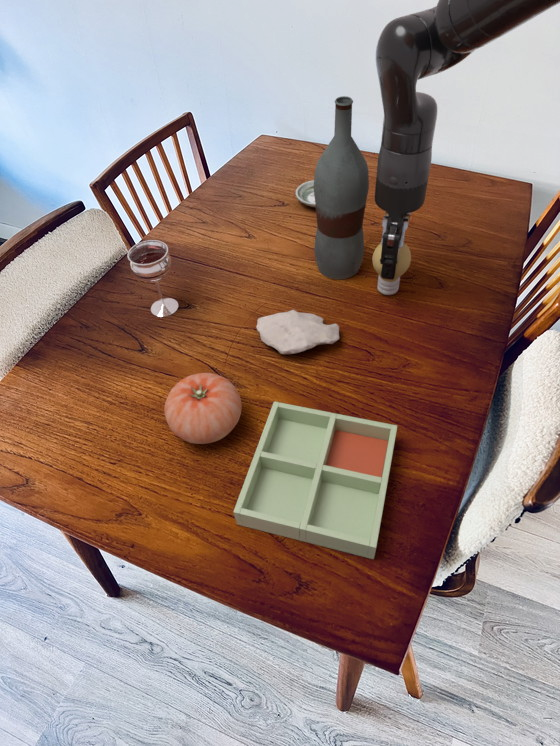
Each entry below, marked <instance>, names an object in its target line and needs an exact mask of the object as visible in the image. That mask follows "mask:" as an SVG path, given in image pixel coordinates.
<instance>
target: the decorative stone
mask: <svg viewBox="0 0 560 746" xmlns="http://www.w3.org/2000/svg"><path fill="white" fill-rule="evenodd" d="M255 329H256V330H257V332H258V333H259V336H260V341H261V342H263V343H264V345H267V346H269V347H271V348H274V349H275V350H277V352H278V353H280V355H293V354H294V355H295V354H299V353H301V352H305V351H307V350H311V349H314V348H315V347H316V346H322V345H333V344H334V343H336V342H337V341H338V340H340V326H339V325H338V324H337V323H332V324H326V323H324V318H323V317H321V316H319V315H316V314H315V313H310V312H299V311H297V310H295V309H291V310H289V311H284V312H276V313H274V314H269V315H264V316H262V317H261V316H260V317H258V318H257V323H256V326H255Z"/></svg>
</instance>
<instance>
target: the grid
mask: <svg viewBox="0 0 560 746" xmlns="http://www.w3.org/2000/svg"><path fill="white" fill-rule="evenodd" d="M397 430H398V425H397V424H391V423H386V422H381V421H376V420H370V419H366V418H361V417H356V416H351V415H347V414H340V413H336V412H330V411H326V410H321V409H315V408H310V407H304V406H301V405H300V406H299V405H295V404H290V403H285V402H279V401H273V403H272V405H271V408H270V411H269V413H268V416H267V419H266V422H265V424H264V428H263V430H262V433H261V436H260V438H259V441H258V443H257V446H256V448H255V452H254V453H253V454H254V455H253V457H252V460H251V463H250V465H249V467H248V471H247V474H246V476H245V479H244V481H243V485H242V487H241V490H240V491H239V492H240V493H239V495H238V497H237V500H236V504H235V506H234V509H233V511H232V512H233V516H234V519H235V523H236V525H238V526H241V527H246V528H249V529H253V530H258V531H261V532H265V533H269V534H271V535H272V534H273V535H277V536H280V537H285V538H288V539H292V540H295V541H300V542H304V543H308V544H311V545H316V546H319V547H324V548H328V549H331V550H335V551H339V552H343V553H346V554H351V555H354V556H359V557H362V558H366V559H369V560H375V556H376V551H377V547H378V542H379V541H378V540H379V534H380V528H381V523H382V517H383V511H384V505H385V501H386V494H387V488H388V483H389V478H390V477H389V476H390V472H391V465H392V461H393V460H392V459H393V455H394V449H395V442H396V438H397Z"/></svg>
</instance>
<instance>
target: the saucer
mask: <svg viewBox="0 0 560 746" xmlns="http://www.w3.org/2000/svg"><path fill="white" fill-rule="evenodd" d="M313 185H314V179H312V180H308V181H305V182H303V183H301V184H300V185H298V187H296V190H295V197H296V200H298V201H299V202H300V203H302V204H303V205H305V206H308V207H310V208H311V207H312V208H316V205H315V196H314V189H313Z"/></svg>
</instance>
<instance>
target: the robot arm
mask: <svg viewBox="0 0 560 746" xmlns="http://www.w3.org/2000/svg"><path fill="white" fill-rule="evenodd" d="M559 4H560V0H438V1H437V3H436V5H435V6H433V7H431V8H428V9H425V10H421V11H418V12H417V11H416V12H414V13H410V14H407V15H403V16H400V17H399V16H398V17H396V18H394V19H392V20H390V21H389V22H388V23H387V24H386V25H385V26H384V28H382V31H381V33H380V35H379V38H378V41H377V44H376V48H375V49H376V50H375V66H376V73H377V77H378V83H379V84H378V85H379V89H380V97H381V103H382V109H383V121H382V129H381V130H382V131H381V140H380V141H381V142H380V148H379V151H378V156H377V165H376V166H377V167H376V177H375V188H374V202H375V205H376V206H377V208H379V209H380V210H382V211H384V215H383V217H382V224H381V225H382V235H381V240H380V243H381V245H382V252H381V259H380V264H382V271H381V277H382V278H384V279H394V277H395V271H396V264H397V262H398V261H397V260H398V259H399V257H398V254H399V249H400V248H402V246H403V244H404V243H405V238H406V231H407V230H408V228H409V223H410V220H411V214H412V213H414V212H416V211H418V210H420V209H421V208H422V207H423V205H424V203H425V200H426V194H427V188H428V184H429V178H430V172H431V165H432V159H433V142H434V136H435V130H436V125H437V119H438V104H437V101H436V99H435V97H433V96H432V95H430V94H428V93H425V92H422V91H421V92H420V91H417V84H418V80H419V81H420V80H421V79H426V78H428V77H431V76H434V75H437V74H439V73H440V74H441V73H442V72H445V71H447V70H450V69H451V68H453V67H455V66H456V65H458V64H460V63H461V62H463V61H464V60H465V59H467V58H468V57H469V56H470V55H471V54H473V53H474V52H476V50H478V49H481V48H482V47H484V46H486V45H488V44H490V43H492V42H494V41H496V40H498V39H499V38H502V37H503V36H505V35H507V34H508V33H510V32H512V31H514V30H516V29H517V28H519V27H521V26H522V25H524V24H526V23H527V22H529V21H531V20H533V19H534V18H536V17H538V16H540V15H541V14H543V13H545V12H546V11H548V10H551V8H553V7H556V6H557V5H559Z"/></svg>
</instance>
